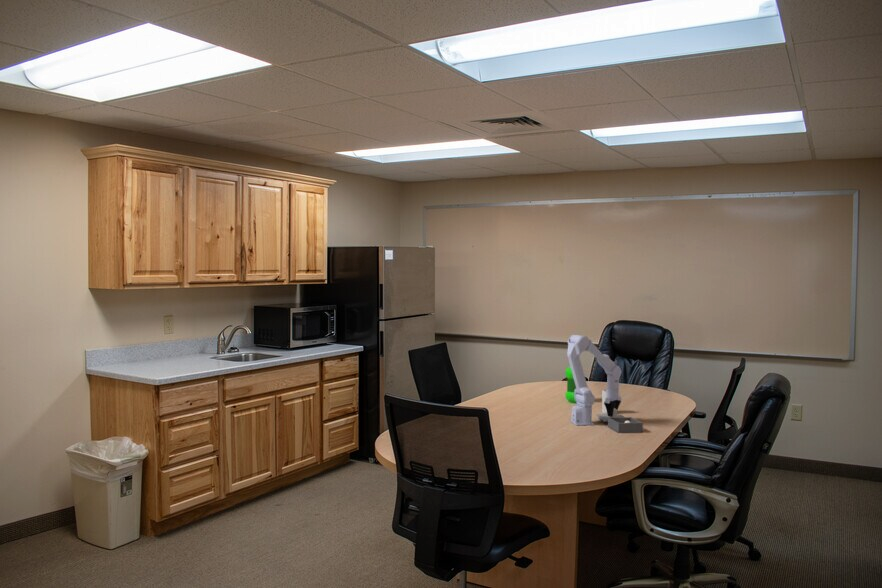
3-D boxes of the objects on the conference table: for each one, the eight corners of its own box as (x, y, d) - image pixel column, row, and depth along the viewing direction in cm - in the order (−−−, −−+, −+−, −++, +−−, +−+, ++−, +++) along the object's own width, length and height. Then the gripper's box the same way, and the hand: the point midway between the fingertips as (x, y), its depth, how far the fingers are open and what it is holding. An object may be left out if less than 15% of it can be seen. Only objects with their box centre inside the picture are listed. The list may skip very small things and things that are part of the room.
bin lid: (604, 421, 320) (604, 411, 320) (595, 415, 333) (595, 406, 333) (629, 421, 321) (630, 411, 321) (620, 415, 334) (620, 406, 334)
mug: (601, 413, 345) (602, 391, 344) (601, 411, 351) (601, 388, 351) (621, 414, 343) (622, 392, 342) (620, 412, 349) (621, 389, 349)
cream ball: (625, 428, 311) (626, 421, 311) (623, 426, 314) (623, 419, 314) (632, 427, 312) (632, 421, 311) (629, 426, 315) (629, 419, 315)
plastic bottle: (581, 400, 379) (582, 357, 378) (583, 404, 368) (584, 360, 367) (564, 400, 380) (565, 357, 379) (565, 403, 369) (566, 359, 368)
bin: (618, 433, 303) (618, 423, 303) (607, 426, 315) (608, 417, 315) (642, 432, 305) (642, 422, 305) (631, 426, 317) (631, 417, 317)
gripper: (615, 391, 318) (614, 419, 319) (625, 387, 330) (625, 414, 330) (601, 389, 322) (600, 417, 323) (612, 385, 334) (611, 412, 334)
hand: (612, 415), depth 327 cm, fingers closed on bin lid, 5 cm apart
